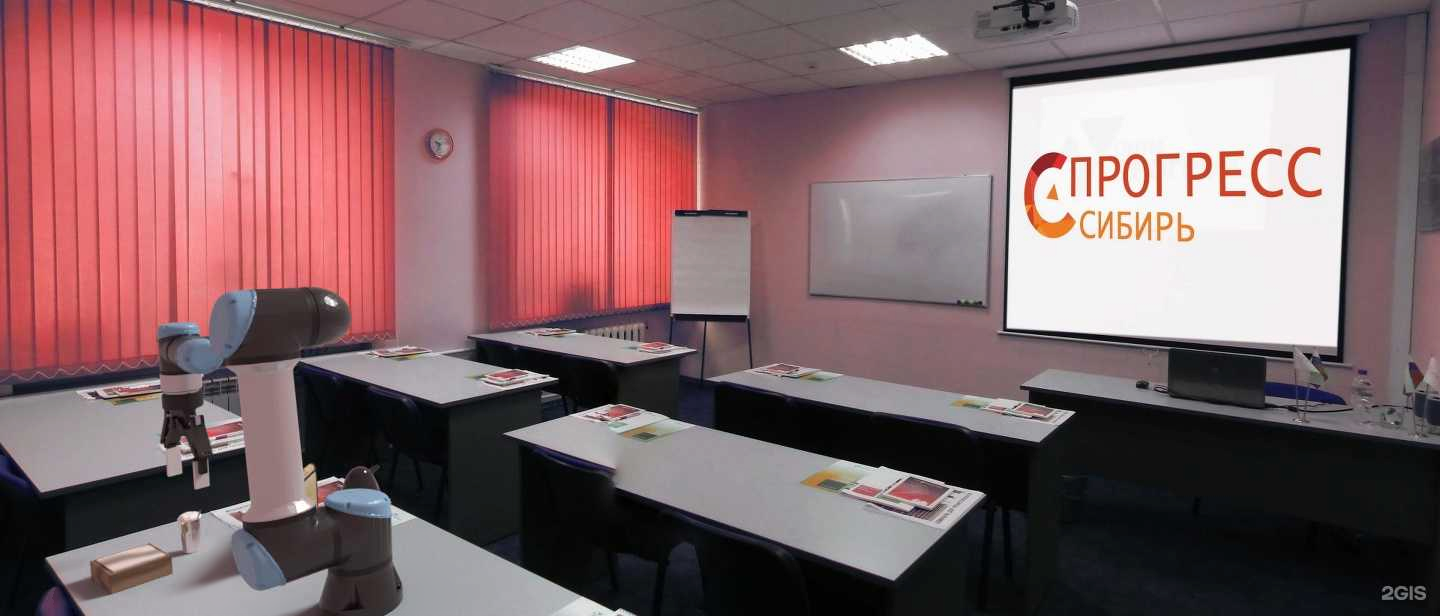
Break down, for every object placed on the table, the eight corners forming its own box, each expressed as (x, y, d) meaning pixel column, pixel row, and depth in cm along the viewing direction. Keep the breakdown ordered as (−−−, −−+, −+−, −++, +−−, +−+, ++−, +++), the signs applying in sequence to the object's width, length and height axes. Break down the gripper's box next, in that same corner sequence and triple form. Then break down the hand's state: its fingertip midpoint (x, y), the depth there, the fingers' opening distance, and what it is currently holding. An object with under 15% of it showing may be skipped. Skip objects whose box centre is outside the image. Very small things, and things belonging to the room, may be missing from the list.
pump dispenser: (392, 522, 182) (390, 465, 180) (353, 536, 173) (350, 476, 171) (369, 513, 187) (367, 457, 186) (330, 526, 179) (327, 468, 177)
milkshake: (193, 556, 161) (190, 514, 160) (174, 553, 162) (171, 512, 161) (211, 547, 166) (208, 506, 165) (192, 545, 167) (189, 504, 166)
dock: (172, 573, 154) (171, 554, 153) (112, 593, 145) (110, 574, 144) (150, 560, 159) (149, 541, 159) (91, 579, 150) (89, 560, 150)
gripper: (227, 395, 157) (232, 487, 159) (176, 380, 170) (182, 465, 172) (188, 402, 150) (194, 498, 153) (138, 385, 163) (145, 474, 166)
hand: (188, 481), depth 162 cm, fingers open, 13 cm apart
